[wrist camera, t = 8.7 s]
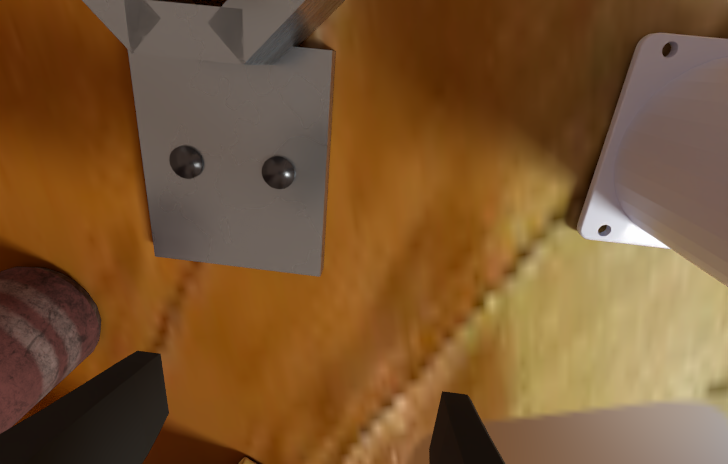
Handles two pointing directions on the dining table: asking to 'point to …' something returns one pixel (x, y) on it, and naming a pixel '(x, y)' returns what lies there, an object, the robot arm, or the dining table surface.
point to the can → (40, 336)
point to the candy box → (246, 461)
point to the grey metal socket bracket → (231, 127)
